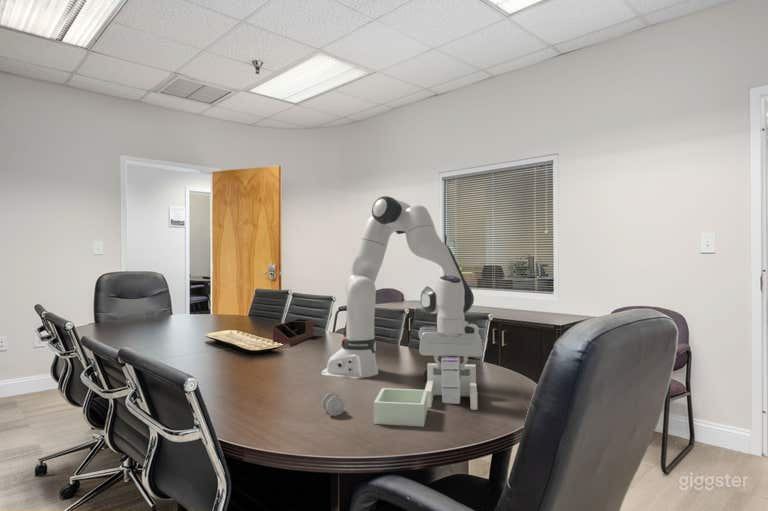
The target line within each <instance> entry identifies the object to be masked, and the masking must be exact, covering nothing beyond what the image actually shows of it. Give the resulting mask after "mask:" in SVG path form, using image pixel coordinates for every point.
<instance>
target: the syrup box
mask: <svg viewBox="0 0 768 511" xmlns="http://www.w3.org/2000/svg"><path fill="white" fill-rule="evenodd" d="M440 363H441V372H442V395H441V403H442V404H450V405H451V404H453V405H454V404H455V405H460V404H461V401H462V400H461V397H462V396H461V387H460V364H461V356H441V360H440Z"/></svg>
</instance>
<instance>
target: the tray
mask: <svg viewBox="0 0 768 511" xmlns="http://www.w3.org/2000/svg"><path fill="white" fill-rule="evenodd" d="M427 414H428V407H427V390H425V389H414V388H413V389H412V388H411V389H410V388H389V387H388V388H385V387H383V388H381V389H380V391H379V392H378V394H377V396H376V397H375V400H374V401H373V424H375V425H389V426H390V425H391V426H404V427H405V426H409V427H425V422H426V418H427Z"/></svg>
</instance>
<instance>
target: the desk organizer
mask: <svg viewBox="0 0 768 511" xmlns="http://www.w3.org/2000/svg"><path fill="white" fill-rule="evenodd" d="M312 337H314V319H311V318H296V319H293V320H289V321H285V322H282V323H279V324H275V325H272V343H273V342H277V343H281V344H283V347H291V346H293V345H296V344H298V343H300V342H304V341H305V340H307V339H310V338H312Z"/></svg>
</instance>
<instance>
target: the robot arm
mask: <svg viewBox="0 0 768 511" xmlns="http://www.w3.org/2000/svg"><path fill="white" fill-rule="evenodd" d="M371 215H372V216H369V218H368V219H367V221H366V223H365V225H364V227H363V230H362V232H361V237H360V239H359V243H358V246H357V249H356V253H355V256H354V258H353V259H354V260H353V262H352V265H351V268H350V271H349V274H348V276H347V280H346V282H345V287H344V288H345V289H344V290H345V293H346V318H345V319H346V321H345V322H346V323H345V325H346V326H345V328H346V329H345V330H346V332H345V333H346V335H345V337H344V338H342V340H341V341H340V345H341V348H340V349H338V350H337V351H336V352H335V353H334V354H332V355H331V356H330V357H329V359H328V361H327V366H326V368H324V369H323V370H322V371H321V375H322V376H327V377H335V378H345V379H351V380H358V379H364V378H369V377H374V376H376V375H378V374H379V370H378V365H377V360H376V351H377V350H376V349H377V342H376V337H375V316H376V315H375V314H376V313H375V311H376V298H377V294H376V293H377V291H376V290H377V288H376V284H375V283H376V281H377V278H378V275H379V272H380V270H381V267H382V265H383V261H384V258H385V255H386V252H387V248H388V244H389V240H390V237H391V235H392V234H393V233H396V234H397V235H401V234H405V238H406V243H407V246H408V248H409V251H411V253H413V255H415V256H417V257H419V258H421V259H424V260H428V261H431V262H433V263H435V264H437V265H438V266H439V267H440V268H442V270H443V272H444V275H442V276H440V277H439V278H437V282H435V283H433V284H431V285H428V286H425V287H424V289H422V291H421V294H420V305H421V307H422V309H423V310H424V311H425V312H426V313H428V314H437V315H436V326H433V325H432V326H427V325H424V326H423V327H420V328H419V330H418V338H419V340H420V341H419V349H418V350H419V354H420V355H421V356H431V357H432V356H433V360H434V363H437V369H438V370H441V362H440V361H439V360H438V359H439V357H442V356H460V357H463V362H462V363H460V370H465V364H468V363H467V362H468V361H469V357H470V358H471V357H472V358H473V357H474V358H481V357H482V356H483V354H484V351H483V350H484V348H483V341H482V337H481V336H480V333H479V326H478V325H477V324H475V323H471V322H469V321H466V320H465V314H466V313H467V312H468V311H470V309H471V308H472V306H473V305H474V300H475V297H474V293H473V291H472V289H471V287H470V286H469V284H468V283H467V282H466V279H465V277H464V276H463V272H462V271H461V268H460V267H459V264H458V262H457V260H456V258H455V255H454V254H453V252H452V250H451V248H450V247H449V246H448V245H447V244H445V243H444V242H443V241H442V239H441V238H440V237H439V235H438V233H437V230H436V227H435V223H434V222H433V219H432V216H431V215H430V212H429V211H428V209H427V208H426V206H423V205H420V204H416V205H410V204H408V203H406V202H404V201H401V200H399V199H396V198H394V197H391V196H388V195H387V196H386V195H384V196H380V197H378V198H377V199H375V201H374V202H373V205H372V207H371Z"/></svg>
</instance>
